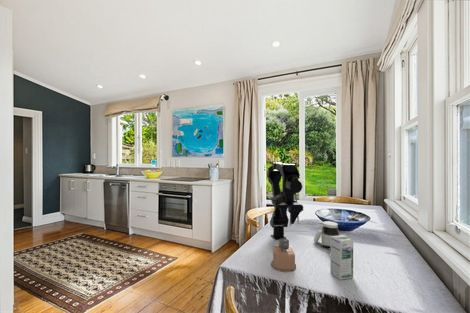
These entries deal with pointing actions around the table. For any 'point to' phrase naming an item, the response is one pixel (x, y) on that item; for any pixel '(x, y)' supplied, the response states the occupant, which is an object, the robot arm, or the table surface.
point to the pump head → (283, 244)
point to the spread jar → (327, 233)
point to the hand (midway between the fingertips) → (287, 221)
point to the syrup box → (341, 257)
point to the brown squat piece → (283, 259)
